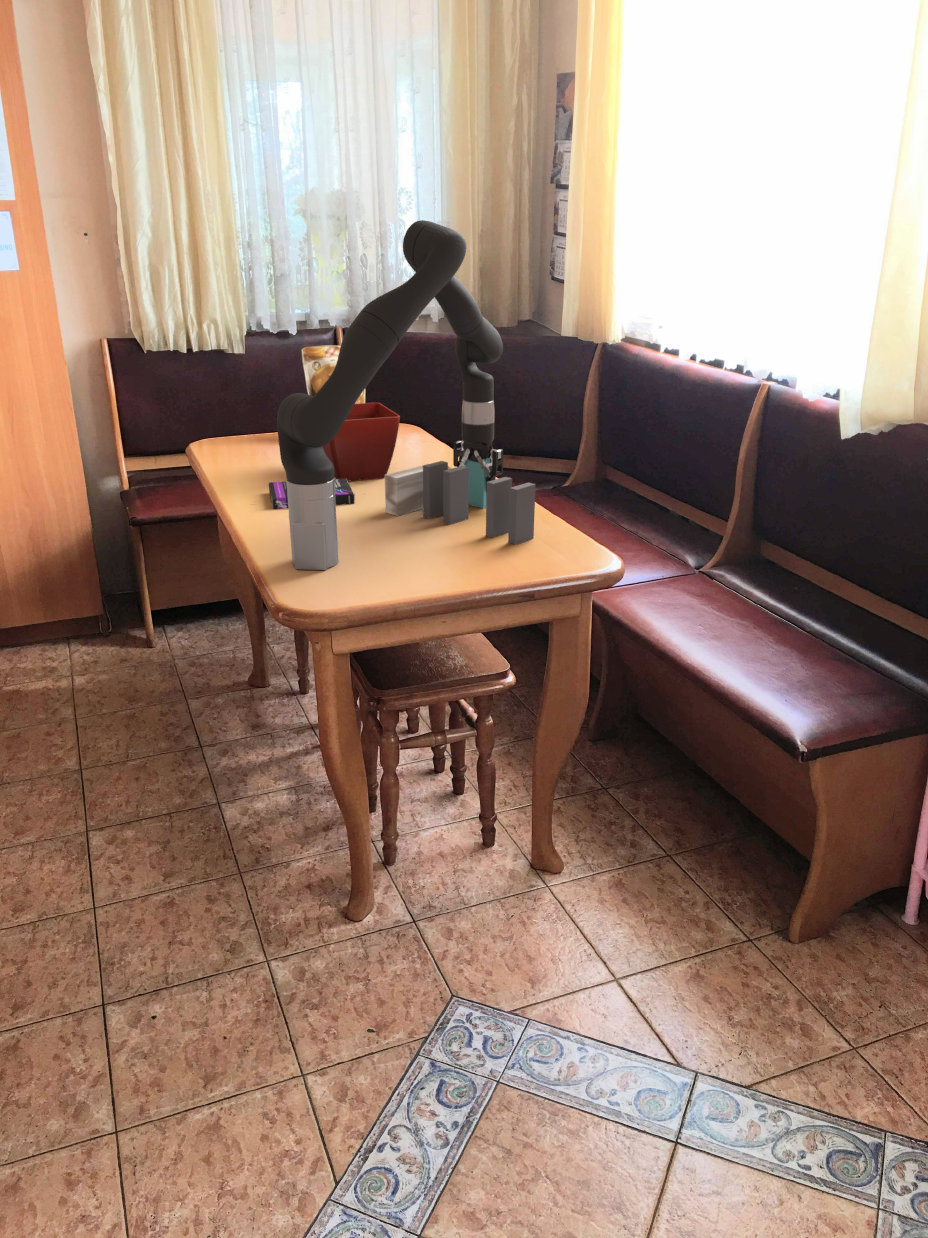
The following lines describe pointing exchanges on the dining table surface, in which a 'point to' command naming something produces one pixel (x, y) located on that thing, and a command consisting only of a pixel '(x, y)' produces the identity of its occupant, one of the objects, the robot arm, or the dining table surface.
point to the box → (281, 497)
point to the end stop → (404, 491)
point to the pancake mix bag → (321, 367)
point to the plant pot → (364, 443)
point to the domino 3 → (476, 484)
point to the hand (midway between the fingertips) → (477, 488)
